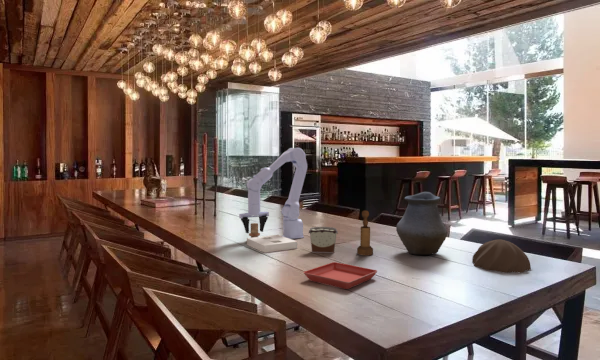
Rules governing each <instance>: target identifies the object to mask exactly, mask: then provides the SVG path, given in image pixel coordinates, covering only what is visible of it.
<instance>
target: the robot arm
mask: <svg viewBox="0 0 600 360" xmlns="http://www.w3.org/2000/svg"><path fill="white" fill-rule="evenodd" d="M306 158H307V154H306V153H305V151H304V150H303V149H302V148H301V147H289V148H288V149H287V150H285V151H284V152H283V153H282V154H280V156H278V158H277V159H275V161H273V162H272V163H271V164H270V165H269V166H268V167H262V168H260V171H259V172H257V173H256V174H255V175H253V176H252V178H250V179H248V180H247V181H246V182H247V183H246V185H245V186H246V188H247V207H248V208H247V212H244V213H239V214H238V216H239V219H240V221H241V222H242V224H243V227H244V231H245V233H246V234H249V233H250V221H251V220H250V219H249V218H258V220H259V232H261V233H263V232H264V228H265V225H266V222H267V221H268V219H269V216H270V212H269V211H261V189H262V186H264V184H266V183H267V182H268V181H269V180H270V179H271V178H272V177H273V176H274V172H275V171H277V170H278V169H279V168H280V167H282V166H283V165H284V164H285V163H289V162H291V163H292V164H293V166H294V167H295V172H294V175H293V179H292V184H291V186H290V191H289V194H288V199H287V200H286V201H285V203H284V206H283V207H282V208H281V215H282V217H283V218H282V229H283V230H282V235H281V236H283V237H286V238H289V239H292V240H294V239H301V238H305V236H304V223H303V221H302V219H301V218H299V217H300V197H301V194H302V190H303V186H304V183H305V179H306V174H307V171H308V161H307V159H306Z"/></svg>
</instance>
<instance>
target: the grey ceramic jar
mask: <svg viewBox="0 0 600 360" xmlns="http://www.w3.org/2000/svg"><path fill="white" fill-rule="evenodd" d="M404 200H405V201H407V207H406V208H405V211H404V214H403V216H402V218H401V219H400V220H399V221H398V222H397V224H396V227H395V228H396V233H397V235H398V237H399V239H400V241H401V242H402V245H403V246H404V247H405V249H406V251H407V253H409V254H410V255H419V256H429V255H435V254H437V253H438V252H439V250H440V249H441V247H442V245H443V244H444V242H445V241H446V238H447V236H448V230H447V228H446V226H445V224H444V223H443V221H442V218H441V215H440V212H439V206H438V203H439V201H440V200H441V197H440V196H437V195H435V194H433V193H432V192H430V191H421V192H418V193H416V194H412V195H407V196H405V197H404Z"/></svg>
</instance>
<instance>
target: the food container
mask: <svg viewBox="0 0 600 360" xmlns="http://www.w3.org/2000/svg"><path fill="white" fill-rule="evenodd" d="M308 234H309V236H310V237H309V238H310V246H311V247H310V248H311V253H323V254H325V253H326V254H334V253H335V249H336V239H337V235H338V234H339V233H338V229H337V228H335V227H333V226H332V227H331V226H313V227H310V228H309V230H308Z"/></svg>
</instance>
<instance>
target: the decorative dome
mask: <svg viewBox="0 0 600 360" xmlns="http://www.w3.org/2000/svg"><path fill="white" fill-rule="evenodd" d="M471 261H472V263H473V266H474V267H478V268H481V269H483V270H484V271H492V272H499V273H505V274H507V273H518V272H520V274H521V273H525V272H526V271H525V270H527V271H530V270H531V269H532V268H531V266H532V265H531V262H530V259H529V257H528V256H527V254H526V253H525V251H524V250H522V249H521V248H520V246H518V245H516V244H514V243H513V242H511V241H507V240H505V239H500V238H499V239H494V240H493V239H492V240H489V241H486V242H484V243H482V244H481V245H480V246H479V247H478V249H477V250H476V251H475V252H474V253H473V255H472V260H471Z"/></svg>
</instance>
